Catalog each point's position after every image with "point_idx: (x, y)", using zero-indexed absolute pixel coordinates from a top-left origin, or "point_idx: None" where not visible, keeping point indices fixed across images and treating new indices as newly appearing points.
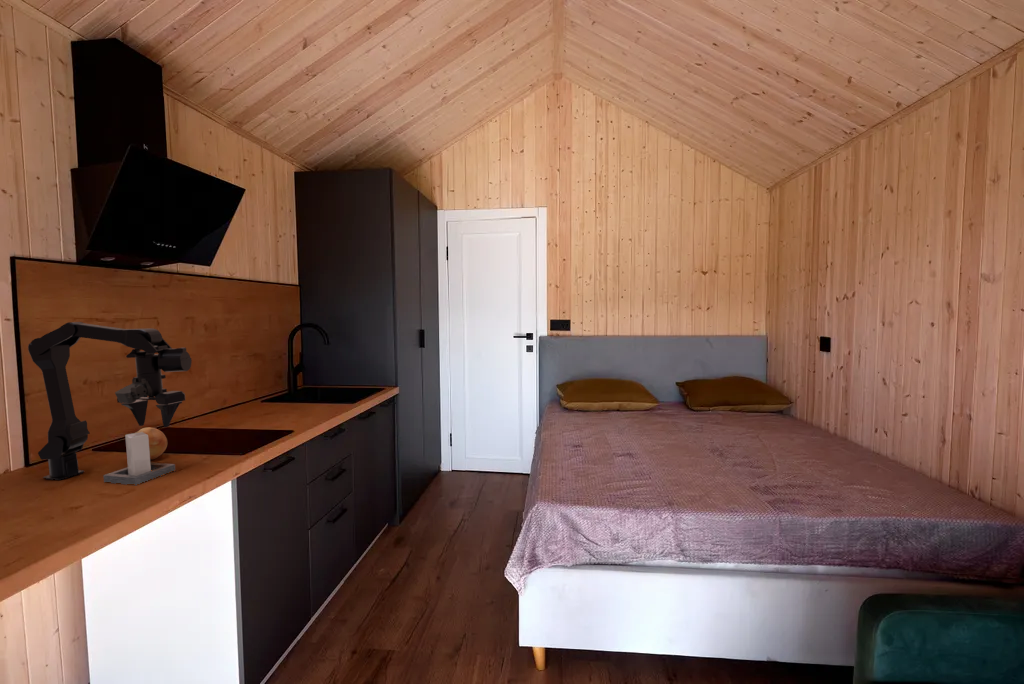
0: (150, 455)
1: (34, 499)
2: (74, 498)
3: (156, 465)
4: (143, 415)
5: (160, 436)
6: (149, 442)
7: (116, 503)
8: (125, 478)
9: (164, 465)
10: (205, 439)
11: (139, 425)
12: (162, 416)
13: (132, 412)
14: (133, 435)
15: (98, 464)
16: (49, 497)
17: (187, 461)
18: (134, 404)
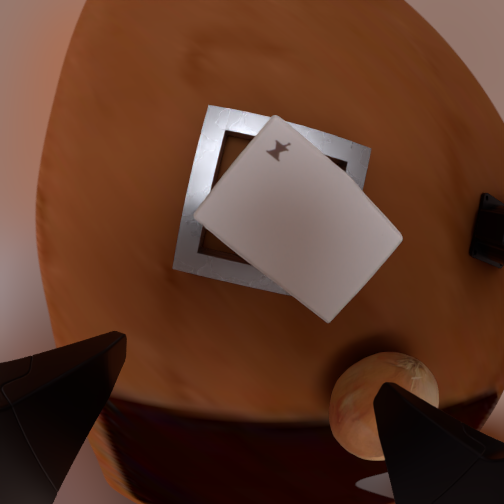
0: (351, 366)
1: (425, 53)
2: (328, 30)
3: (247, 263)
4: (398, 459)
5: (345, 434)
6: (365, 394)
7: (167, 4)
8: (261, 116)
9: (204, 254)
10: (305, 487)
11: (391, 382)
12: (51, 367)
13: (480, 434)
14: (318, 202)
15: (468, 322)
16: (405, 55)
17: (216, 359)
18: (498, 496)
